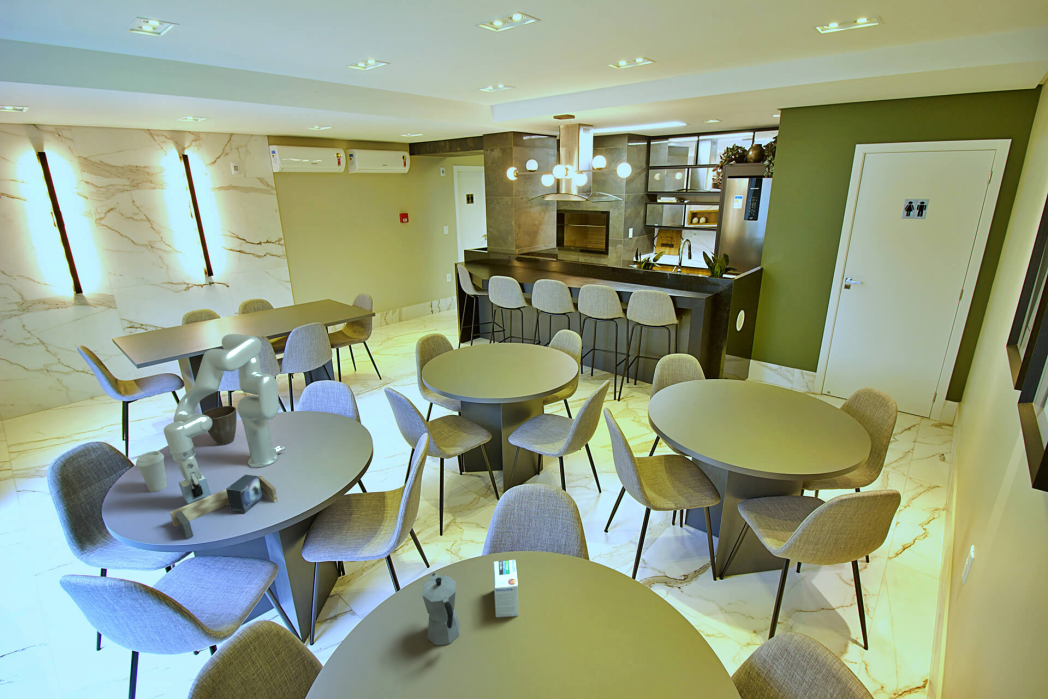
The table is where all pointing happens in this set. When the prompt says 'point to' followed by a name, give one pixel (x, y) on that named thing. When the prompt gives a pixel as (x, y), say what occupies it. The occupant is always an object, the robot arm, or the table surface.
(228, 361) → the robot arm
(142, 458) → the coffee cup
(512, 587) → the light bulb box
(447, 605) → the coffeepot
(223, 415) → the plant pot
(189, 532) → the bookend
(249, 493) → the small box
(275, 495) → the curved wooden plank
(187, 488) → the pale grey block
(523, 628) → the table surface
